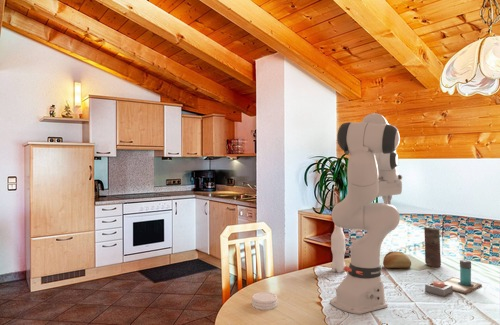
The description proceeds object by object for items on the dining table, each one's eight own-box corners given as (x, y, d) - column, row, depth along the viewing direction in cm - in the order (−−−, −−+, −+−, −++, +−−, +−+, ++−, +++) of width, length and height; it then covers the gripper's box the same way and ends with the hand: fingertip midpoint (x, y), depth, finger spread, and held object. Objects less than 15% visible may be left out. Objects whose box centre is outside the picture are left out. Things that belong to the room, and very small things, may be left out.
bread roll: (378, 265, 184) (378, 250, 184) (404, 263, 187) (403, 249, 187) (388, 271, 175) (388, 255, 175) (415, 269, 177) (415, 253, 177)
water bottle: (344, 269, 178) (344, 220, 178) (347, 273, 171) (346, 223, 171) (330, 269, 179) (329, 220, 179) (332, 273, 172) (331, 223, 172)
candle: (421, 263, 186) (421, 226, 186) (432, 262, 188) (432, 225, 188) (433, 268, 179) (432, 229, 179) (444, 266, 181) (443, 228, 181)
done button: (441, 292, 143) (441, 285, 143) (430, 289, 146) (430, 282, 146) (446, 290, 146) (446, 283, 146) (436, 287, 149) (435, 280, 149)
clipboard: (465, 294, 143) (465, 292, 143) (436, 286, 153) (436, 284, 153) (481, 285, 153) (481, 283, 153) (452, 278, 162) (452, 276, 162)
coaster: (263, 298, 142) (262, 289, 142) (282, 304, 136) (282, 295, 136) (246, 306, 135) (246, 297, 135) (266, 313, 128) (266, 303, 128)
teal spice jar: (468, 286, 149) (468, 263, 149) (458, 283, 153) (458, 261, 153) (472, 284, 152) (472, 261, 152) (462, 281, 155) (462, 259, 155)
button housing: (443, 297, 141) (443, 289, 141) (425, 291, 147) (425, 284, 147) (452, 292, 145) (452, 285, 145) (434, 287, 151) (433, 280, 151)
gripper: (380, 177, 161) (380, 207, 161) (404, 175, 173) (404, 203, 173) (368, 177, 166) (368, 206, 166) (392, 175, 178) (392, 202, 178)
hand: (387, 204), depth 169 cm, fingers closed
